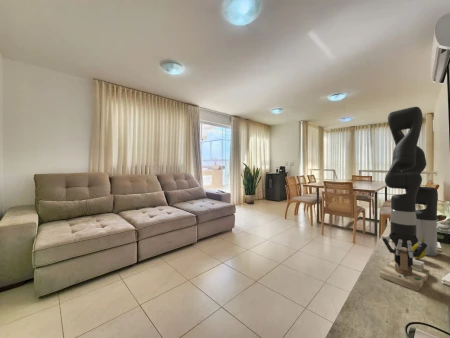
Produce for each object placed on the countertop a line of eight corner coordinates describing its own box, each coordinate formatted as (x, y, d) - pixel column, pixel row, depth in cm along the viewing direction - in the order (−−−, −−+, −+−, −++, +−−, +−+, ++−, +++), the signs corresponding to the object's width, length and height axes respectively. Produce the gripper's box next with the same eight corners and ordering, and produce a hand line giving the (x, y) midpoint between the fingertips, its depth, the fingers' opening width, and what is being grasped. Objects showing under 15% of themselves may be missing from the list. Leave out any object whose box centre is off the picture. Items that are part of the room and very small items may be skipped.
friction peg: (394, 266, 80) (394, 246, 80) (411, 270, 76) (411, 249, 76) (395, 275, 73) (395, 253, 73) (413, 280, 70) (413, 257, 70)
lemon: (429, 262, 86) (429, 245, 86) (414, 261, 87) (414, 244, 87) (419, 256, 92) (419, 240, 91) (405, 256, 93) (405, 239, 93)
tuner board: (394, 263, 86) (394, 253, 86) (429, 274, 77) (429, 263, 77) (379, 276, 76) (379, 265, 76) (418, 291, 67) (418, 278, 67)
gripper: (423, 221, 75) (423, 264, 75) (378, 217, 82) (379, 257, 82) (432, 226, 68) (432, 274, 69) (382, 221, 75) (383, 265, 75)
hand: (403, 264), depth 75 cm, fingers closed on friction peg, 2 cm apart
